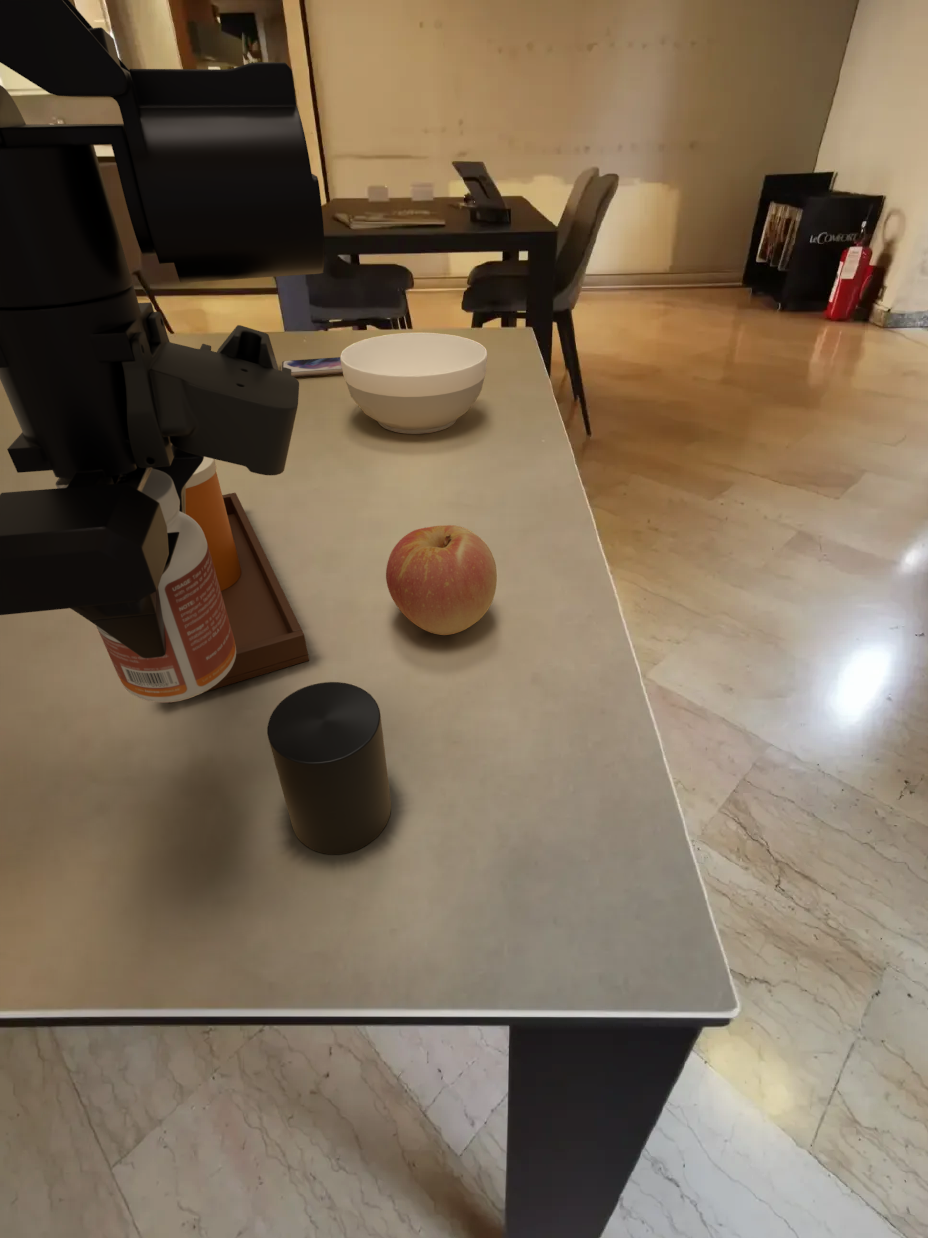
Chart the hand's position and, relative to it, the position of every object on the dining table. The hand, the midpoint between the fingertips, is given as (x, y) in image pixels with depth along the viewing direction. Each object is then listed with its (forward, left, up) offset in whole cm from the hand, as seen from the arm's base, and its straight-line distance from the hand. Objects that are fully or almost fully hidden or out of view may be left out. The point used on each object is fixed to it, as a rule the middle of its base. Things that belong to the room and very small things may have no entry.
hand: (166, 615), depth 35 cm
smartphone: (-25, +78, -13) cm, 83 cm away
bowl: (-5, +61, -13) cm, 63 cm away
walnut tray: (-11, +18, -13) cm, 25 cm away
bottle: (-12, +19, -12) cm, 26 cm away
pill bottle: (0, 0, -4) cm, 4 cm away
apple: (+10, +19, -13) cm, 25 cm away
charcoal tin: (+9, -1, -13) cm, 16 cm away
